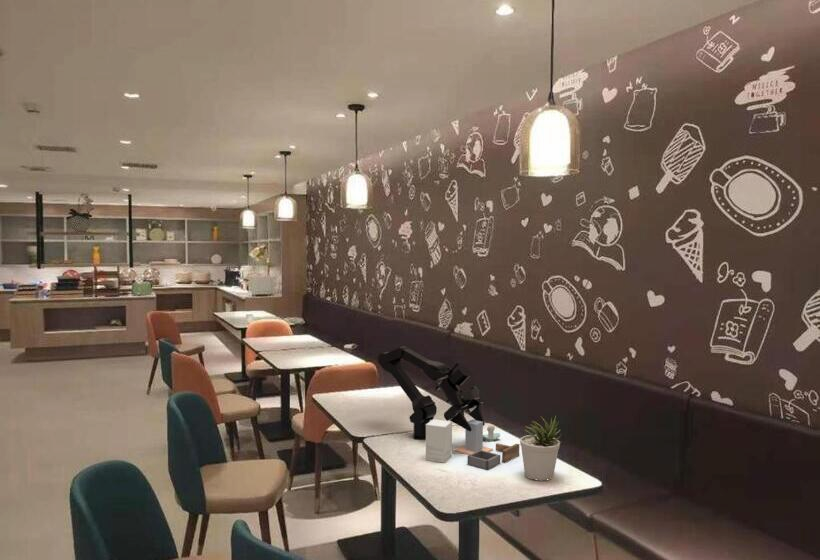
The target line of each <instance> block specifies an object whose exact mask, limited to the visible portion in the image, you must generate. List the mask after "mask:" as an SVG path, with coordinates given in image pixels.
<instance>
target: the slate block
mask: <svg viewBox="0 0 820 560" xmlns="http://www.w3.org/2000/svg"><path fill="white" fill-rule="evenodd" d="M467 422H468V423H469V425H470V427H471V429H472V430H471V431H470V432H469V431H468V430H466V429H465V432H464V433H465V435H464V437H465V440H464V441H465V442H464V445H465V450H469V451H473V452H477V451H479V450H482V446H484V444H483V440H484V439H483V435H484V433H483V432H484V431H483V429H484V426H483V422H481V421H477V420H475V419H470V420H467Z"/></svg>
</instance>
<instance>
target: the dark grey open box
mask: <svg viewBox="0 0 820 560" xmlns="http://www.w3.org/2000/svg"><path fill="white" fill-rule="evenodd" d="M498 464H499V465H500V464H501V454H499V453H494V452H492V451H490V452H487V451H483V450H479V451H477V452H475V453H472V454H470V455H467V465H469V466H471V467H475V468H477V469H478V468H479V469H483V470H484V471H485V470H486V471H490V470H491V469H493V468H495V467H496V465H497V466H498Z"/></svg>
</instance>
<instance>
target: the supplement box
mask: <svg viewBox="0 0 820 560" xmlns="http://www.w3.org/2000/svg"><path fill="white" fill-rule="evenodd" d="M452 438H453V422H451V421H450V420H448V421H446V420H441V419H434V418H433V420H430V422H429V423H427V424H426V439H425V460H426V461H430V462H431V461H432V462H438V463H442V464H443V463H444V464H446V462H448V461H449V460H450V459H451V458H452V457H453V442H452V441H453V439H452Z"/></svg>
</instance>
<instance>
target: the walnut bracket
mask: <svg viewBox="0 0 820 560" xmlns="http://www.w3.org/2000/svg"><path fill="white" fill-rule="evenodd" d="M520 446H521V445H520V444H519V443H515V444H513V445H507V444H503V443H498V442H496V443H495V451H496V452H499V453H501V454H502V456H501V462H502V463H504V464H506V463H508V462H509V460H510V461H511V459H512V460H513V459H515V458H517V457H519V456H520ZM507 461H508V462H507ZM505 462H506V463H505Z"/></svg>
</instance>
